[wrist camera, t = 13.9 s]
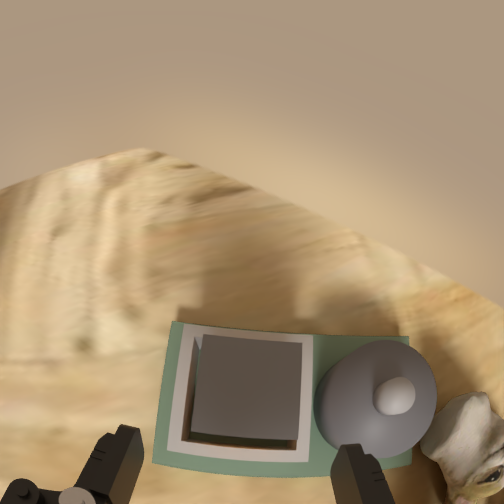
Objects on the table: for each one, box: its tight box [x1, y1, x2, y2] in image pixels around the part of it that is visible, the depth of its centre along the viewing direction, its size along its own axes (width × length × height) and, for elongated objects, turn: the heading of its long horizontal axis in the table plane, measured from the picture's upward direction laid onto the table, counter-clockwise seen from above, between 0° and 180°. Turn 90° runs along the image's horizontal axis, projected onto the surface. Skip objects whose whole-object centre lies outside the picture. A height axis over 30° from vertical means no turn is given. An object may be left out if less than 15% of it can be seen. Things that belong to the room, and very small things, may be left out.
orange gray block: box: [191, 334, 302, 440], centre depth 17 cm, size 5×5×8 cm
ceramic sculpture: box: [420, 392, 504, 504], centre depth 15 cm, size 11×9×15 cm
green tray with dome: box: [152, 321, 437, 478], centre depth 18 cm, size 20×12×7 cm, turn 85°
